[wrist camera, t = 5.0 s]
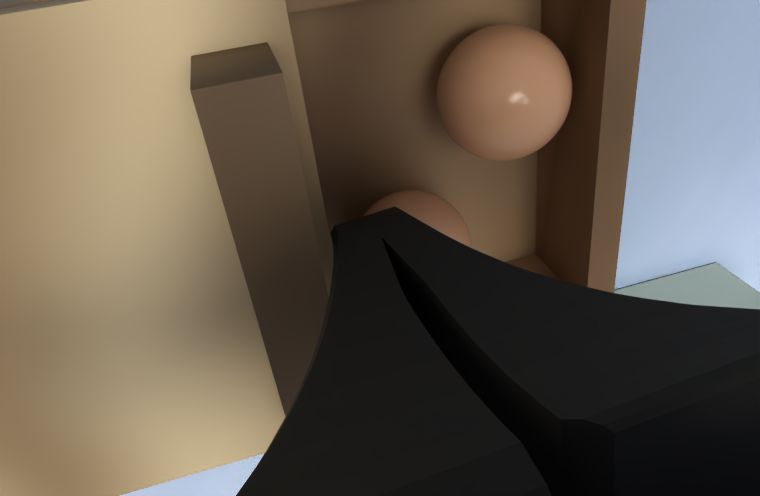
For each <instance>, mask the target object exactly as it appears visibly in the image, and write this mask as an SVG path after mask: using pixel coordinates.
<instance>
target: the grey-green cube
mask: <svg viewBox="0 0 760 496" xmlns="http://www.w3.org/2000/svg"><path fill="white" fill-rule="evenodd" d="M614 293H617V294H622V295H628V296H634V297H640V298H646V299H654V300H661V301H668V302H676V303H683V304H692V305H704V306H719V307H733V308H748V309H760V292H758V291H757V290H755V289H754V288H752V287H751V286H750V285H748V284H747V283H745V282H744V281H742V280H741V279H740V278H738V277H737V276H735V275H734V274H732V273H731V272H730V271H728V270H727V269H725V268H724V267H722V266H721V265H720V264H718V263H717V262H716V263H713V264H709V265H705V266H702V267H698V268H694V269H691V270H687V271H684V272H680V273H676V274H673V275H669V276H665V277H662V278H658V279H654V280H651V281H647V282H643V283H640V284H636V285H633V286H629V287H625V288H622V289H618V290H614Z"/></svg>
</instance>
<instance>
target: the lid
mask: <svg viewBox="0 0 760 496" xmlns="http://www.w3.org/2000/svg"><path fill="white" fill-rule="evenodd" d="M332 270H333V250H332V244H331V239H330V234H329V229H328V223H327V218H326V213H325V208H324V202H323V197H322V192H321V187H320V181H319V176H318V171H317V166H316V160H315V155H314V150H313V145H312V139H311V134H310V129H309V123H308V118H307V113H306V108H305V102H304V97H303V92H302V87H301V81H300V76H299V71H298V66H297V60H296V55H295V50H294V45H293V39H292V34H291V29H290V24H289V18H288V13H287V8H286V3H285V0H55V1H49V2H42V3H36V4H30V5H24V6H18V7H11V8H5V9H0V496H119V495H123V494H126V493H130V492H133V491H136V490H140V489H143V488H147V487H150V486H153V485H157V484H160V483H164V482H167V481H171V480H174V479H177V478H181V477H184V476H188V475H191V474H195V473H198V472H201V471H205V470H208V469H212V468H215V467H218V466H222V465H225V464H229V463H232V462H236V461H239V460H242V459H246V458H249V457H253V456H256V455H260V454H263V453H265V452H266V451H267V449H268V447H269V445H270V444H271V442H272V440H273V438H274V436H275V435H276V433H277V431H278V429H279V428H280V426H281V424H282V422H283V420H284V419H285V417H286V415H287V413H288V412H289V410H290V408H291V406H292V404H293V402H294V399H295V397H296V395H297V393H298V391H299V389H300V386H301V384H302V382H303V379H304V377H305V374H306V372H307V370H308V367H309V365H310V362H311V360H312V357H313V354H314V351H315V348H316V345H317V342H318V339H319V336H320V332H321V329H322V325H323V321H324V317H325V312H326V308H327V303H328V298H329V293H330V287H331V279H332Z"/></svg>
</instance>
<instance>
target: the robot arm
mask: <svg viewBox="0 0 760 496" xmlns="http://www.w3.org/2000/svg"><path fill="white" fill-rule="evenodd" d="M330 234H331V237H332V240H333V270H332V279H331V287H330V293H329V298H328V303H327V308H326V312H325V317H324V321H323V325H322V329H321V332H320V336H319V339H318V342H317V345H316V348H315V351H314V354H313V357H312V360H311V362H310V365H309V367H308V370H307V372H306V374H305V377H304V379H303V382H302V384H301V386H300V389H299V391H298V393H297V395H296V397H295V399H294V402H293V404H292V406H291V408H290V410H289V412H288V413H287V415H286V417H285V419H284V420H283V422H282V424H281V426H280V428H279V429H278V431H277V433H276V435H275V436H274V438H273V440H272V442H271V444H270V445H269V447H268V449H267V451H266V452H265V454H264V456H263V457H262V459H261V460H260V462H259V464H258V465H257V467H256V468H255V469H254V471H253V472H252V474H251V475H250V477H249V478H248V479H247V481H246V482H245V484H244V485H243V487H242V488H241V489H240V491H239V492H238V494H237V495H236V496H760V309H748V308H733V307H719V306H704V305H692V304H683V303H676V302H668V301H661V300H654V299H646V298H640V297H634V296H628V295H622V294H617V293H612V292H607V291H603V290H598V289H594V288H589V287H585V286H580V285H576V284H572V283H568V282H564V281H560V280H557V279H553V278H550V277H547V276H544V275H541V274H538V273H534V272H531V271H528V270H525V269H522V268H519V267H516V266H514V265H511V264H508V263H506V262H503V261H501V260H498V259H496V258H494V257H491V256H489V255H486V254H484V253H482V252H479V251H477V250H475V249H473V248H471V247H468V246H466V245H464V244H462V243H460V242H458V241H456V240H454V239H452V238H450V237H448V236H447V235H445V234H443V233H441V232H439V231H437V230H436V229H434V228H432V227H430V226H429V225H427V224H425V223H423V222H422V221H420V220H418V219H416V218H415V217H413V216H411V215H410V214H408V213H406V212H404V211H403V210H401V209H399V208H397V207H395V206H394V207H391V208H388V209H385V210H382V211H379V212H376V213H372V214H369V215H366V216H363V217H360V218H357V219H354V220H351V221H347V222H344V223H341V224H338V225H335V226H334V228H333V229H332V231H331V232H330Z"/></svg>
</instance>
